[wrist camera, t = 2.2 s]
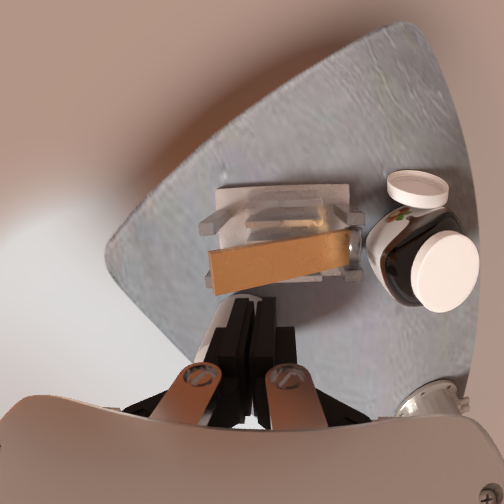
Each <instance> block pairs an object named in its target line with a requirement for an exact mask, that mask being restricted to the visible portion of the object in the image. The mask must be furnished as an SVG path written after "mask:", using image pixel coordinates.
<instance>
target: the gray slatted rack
mask: <svg viewBox="0 0 504 504" xmlns="http://www.w3.org/2000/svg"><path fill="white" fill-rule="evenodd" d="M215 197H216V208H217V211H216V212H215V213H213V214H212V215H210V216H209V217H208V218H206V219H205V220H203V221H202V222H200V223H199V233H200V236H208V235H215V234H216V233H217V232H218V231H219V241H220V249H224V248H230V247H236V246H242V245H248V244H254V243H260V242H266V241H272V240H278V239H284V238H290V237H296V236H302V235H309V234H315V233H321V232H327V231H333V230H339V229H344V228H345V227H349V225H365V213H364V212H362V211H361V210H359V209H357V208H355V207H353V206H352V205H350V204H349V184H296V185H270V186H251V187H235V188H221V189H215ZM339 275H342V277H343V279H344V281H345V282H354V281H362V277H363V270H362V268H361V267H360V266H359V264H355V265H351V264H349V265H345V266H341V267H337V268H333V269H329V270H325V271H321V272H317V273H313V274H309V275H305V276H301V277H296V278H292V279H288V280H284V281H279V282H275V283H286V282H315V281H322V276H339ZM205 283H206V288H212V280H211V272H210V270H209V272H208V273H207V275H206V276H205Z"/></svg>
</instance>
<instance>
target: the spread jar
mask: <svg viewBox="0 0 504 504" xmlns="http://www.w3.org/2000/svg"><path fill="white" fill-rule="evenodd" d="M448 191H449V186H448V184H447V183H446V182H445V181H444V180H443V179H441V178H439V177H438V176H435V175H433V174H430V173H426V172H422V171H415V170H402V171H397V172H393V173H391V174H390V175H389V176H388V178H387V192H388V194H389V195H390V197H391V198H393V199H394V200H396V201H398V202H399V203H402V204H404V206H401V207H398V208H396V209H394V210H392V211H390V212H389V213H387V214H386V215H384V216H383V217H382V218H381V219H380V220H379V221H378V222H377V223H376V224H375V226H374V227H373V228H372V229H371V231H370V233H369V234H368V237H367V239H366V253H367V257H368V260H369V263H370V265H371V267H372V269H373V271H374V273H375V275H376V277H377V278H378V279H379V281H380V282H381V284H382V285H383V286H384V288H385V289H386V290H387V291H388V293H389V294H390V295H391V296H392V297H393V298H394V299H395V300H396V301H398V302H399V303H401V304H403V305H405V306H408V307H418V306H425V307H426V308H427V309H429V310H430V311H433V312H446V311H449V310H452V309H454V308H455V307H457V306H458V305H460V304H461V303H462V302H463V301H464V300H465V299H466V298H467V297H468V295H469V294H470V292H471V291H472V289H473V287H474V285H475V283H476V280H477V277H478V272H479V255H478V251H477V248H476V246H475V245H474V243H473V242H472V241H471V240H470V239H469V238H468V237H467V236H466V233H465V231H464V229H463V227H462V224H461V223H460V221H459V219H458V218H457V217H456V215H455V214H454V213H453V212H452V211H450V210H449V209H447V208H445V207H442V206H443V205H444V204H445V203H446V202H447V199H448Z"/></svg>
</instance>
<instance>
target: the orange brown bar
mask: <svg viewBox="0 0 504 504" xmlns="http://www.w3.org/2000/svg"><path fill="white" fill-rule="evenodd" d="M361 247H362V228H359V227H345V228H344V229H339V230H333V231H327V232H321V233H315V234H309V235H302V236H296V237H290V238H284V239H278V240H272V241H266V242H260V243H254V244H248V245H242V246H236V247H230V248H224V249H219V250H213V251H208V255H209V264H210V272H211V280H212V288H213V292H214V294H215V295H221V294H226V293H230V292H235V291H240V290H244V289H249V288H253V287H258V286H262V285H266V284H271V283H275V282H279V281H284V280H288V279H292V278H296V277H301V276H305V275H309V274H313V273H317V272H321V271H325V270H329V269H333V268H337V267H341V266H345V265H349V264H351V265H355V264H359V263H361Z"/></svg>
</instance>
